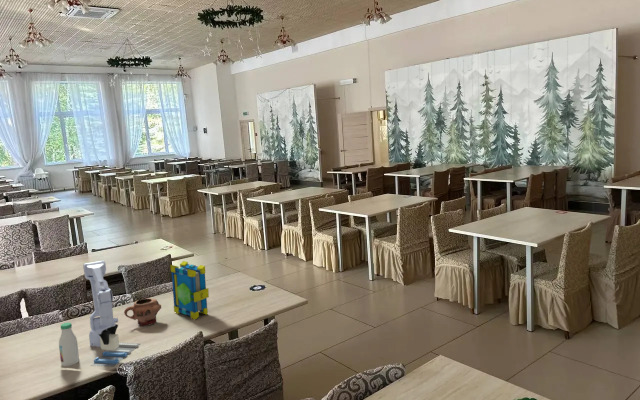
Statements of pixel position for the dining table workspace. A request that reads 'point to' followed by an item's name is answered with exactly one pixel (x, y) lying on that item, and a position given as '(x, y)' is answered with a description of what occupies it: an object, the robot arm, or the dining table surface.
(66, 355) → the milk bottle
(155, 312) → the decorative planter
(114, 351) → the board
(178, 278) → the decorative book
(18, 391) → the dining table surface
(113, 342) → the tall cream block
